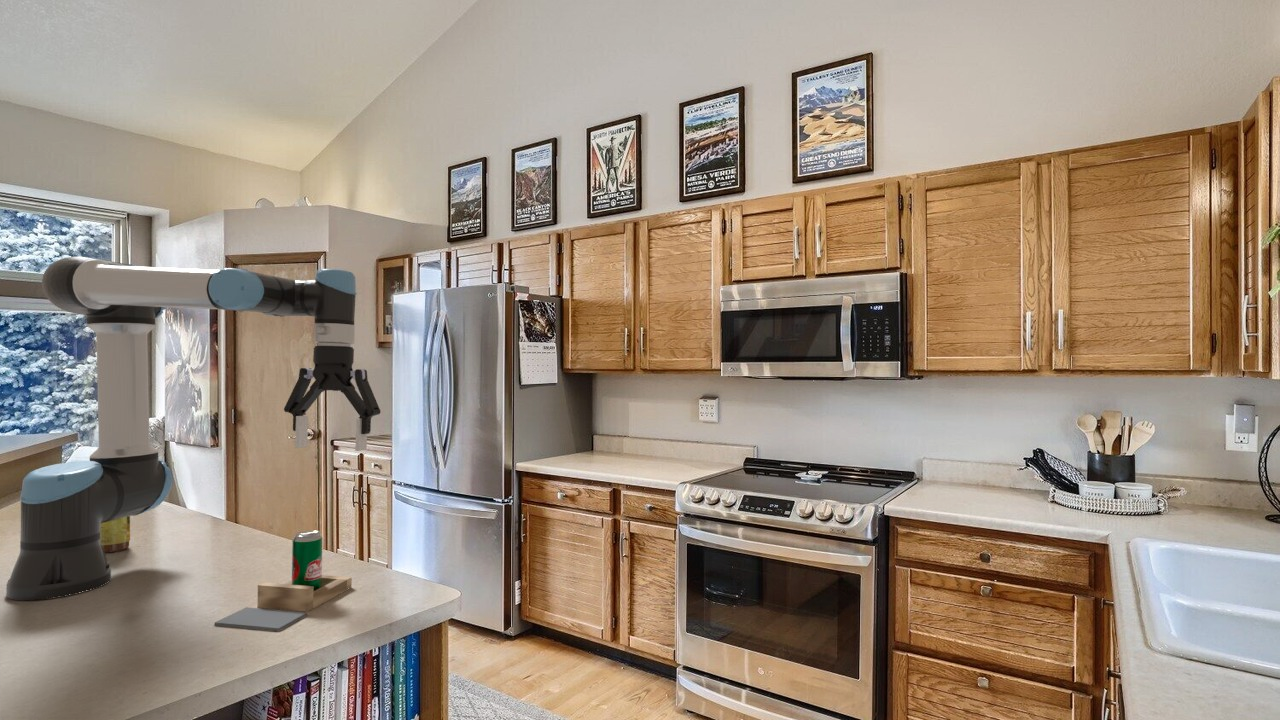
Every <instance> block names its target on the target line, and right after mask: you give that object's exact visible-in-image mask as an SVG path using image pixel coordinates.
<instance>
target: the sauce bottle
mask: <svg viewBox="0 0 1280 720" xmlns="http://www.w3.org/2000/svg"><path fill="white" fill-rule="evenodd" d="M130 540H131V516H127V517H123V518H119V519H115V520H111V521H107V522H104V523H101V527H100V542H101V546H102V548H103V550H104V553H105V554H107V553H109V552H110V553H115V552H120V551H124V550H126V549H128V548H129V547H130Z"/></svg>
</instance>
